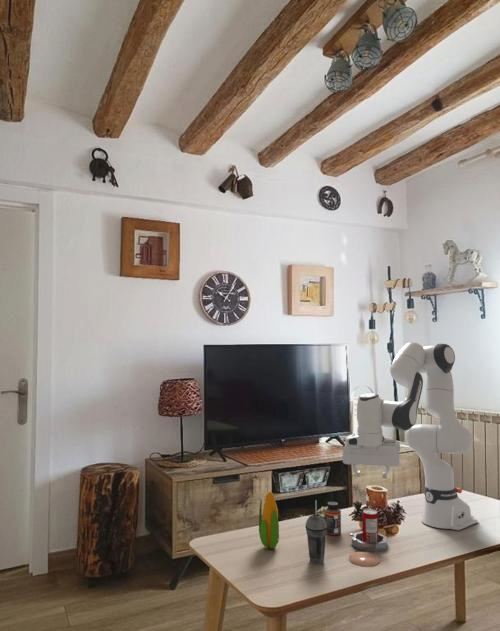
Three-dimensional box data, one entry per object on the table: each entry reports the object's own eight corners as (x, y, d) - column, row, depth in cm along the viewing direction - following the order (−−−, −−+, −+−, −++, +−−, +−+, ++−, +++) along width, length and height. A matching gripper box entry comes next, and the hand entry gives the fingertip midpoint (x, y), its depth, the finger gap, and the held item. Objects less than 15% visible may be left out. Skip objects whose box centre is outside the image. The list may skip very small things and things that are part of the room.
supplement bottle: (340, 536, 190) (340, 506, 191) (324, 535, 191) (324, 505, 192) (341, 530, 196) (340, 501, 197) (325, 529, 197) (325, 500, 198)
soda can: (369, 539, 187) (369, 507, 187) (381, 545, 182) (381, 511, 183) (359, 543, 184) (359, 510, 184) (371, 548, 179) (370, 514, 180)
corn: (264, 554, 175) (264, 496, 176) (255, 546, 182) (255, 490, 183) (284, 551, 178) (283, 493, 179) (274, 543, 185) (273, 487, 186)
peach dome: (365, 551, 177) (365, 549, 177) (385, 562, 168) (385, 560, 168) (342, 557, 172) (342, 555, 172) (362, 568, 163) (362, 567, 163)
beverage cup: (305, 566, 166) (304, 504, 166) (306, 557, 173) (305, 497, 174) (328, 567, 165) (327, 505, 166) (327, 558, 172) (326, 498, 173)
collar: (371, 536, 191) (371, 527, 191) (393, 547, 180) (393, 538, 180) (343, 542, 185) (343, 533, 185) (365, 554, 174) (365, 545, 174)
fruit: (321, 525, 207) (323, 504, 210) (339, 530, 201) (342, 508, 203) (306, 523, 202) (309, 502, 204) (325, 527, 195) (328, 506, 198)
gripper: (400, 437, 184) (401, 476, 184) (343, 435, 190) (344, 472, 190) (399, 442, 178) (401, 481, 178) (341, 439, 184) (342, 478, 184)
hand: (371, 477), depth 184 cm, fingers open, 8 cm apart
